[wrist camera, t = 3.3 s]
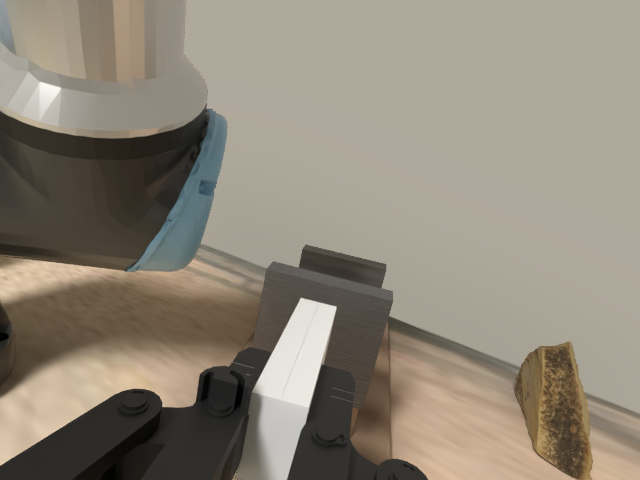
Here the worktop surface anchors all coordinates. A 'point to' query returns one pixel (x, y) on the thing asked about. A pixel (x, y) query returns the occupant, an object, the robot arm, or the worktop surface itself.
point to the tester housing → (375, 417)
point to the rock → (556, 409)
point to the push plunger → (348, 326)
